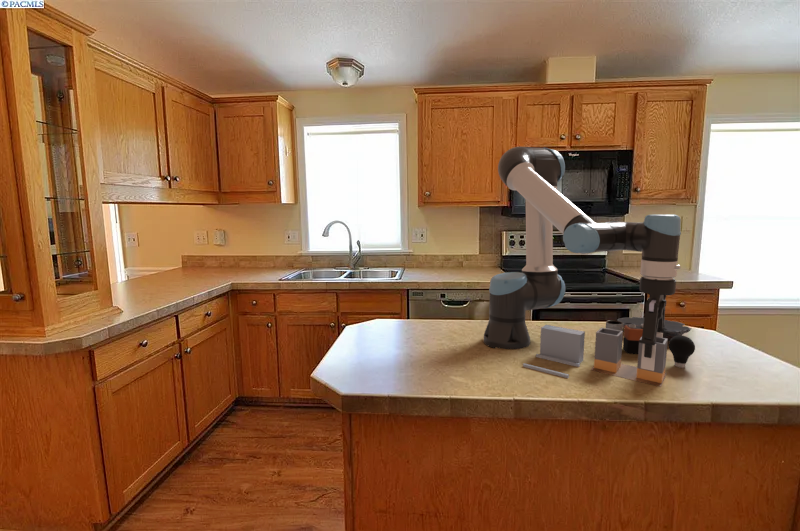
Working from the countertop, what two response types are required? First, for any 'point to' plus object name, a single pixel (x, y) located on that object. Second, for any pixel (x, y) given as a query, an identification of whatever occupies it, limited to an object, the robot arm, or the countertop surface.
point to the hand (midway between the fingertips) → (651, 362)
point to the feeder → (560, 348)
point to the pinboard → (628, 374)
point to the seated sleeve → (608, 349)
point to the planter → (614, 325)
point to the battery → (632, 338)
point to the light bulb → (681, 349)
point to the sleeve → (659, 362)
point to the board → (671, 327)
